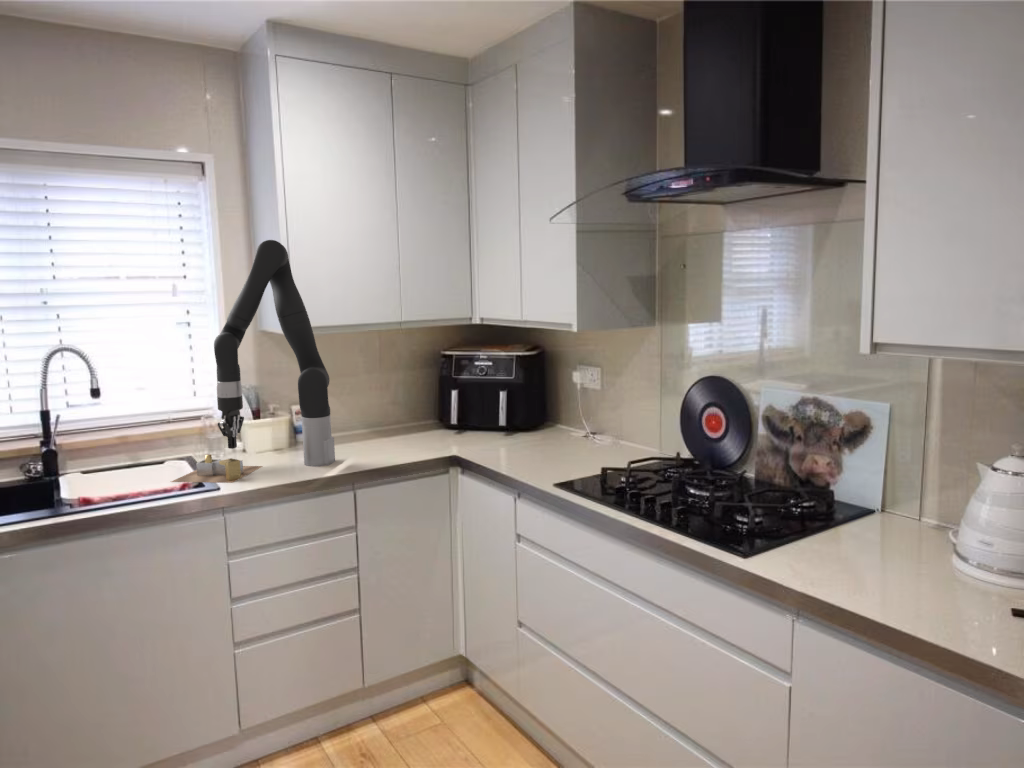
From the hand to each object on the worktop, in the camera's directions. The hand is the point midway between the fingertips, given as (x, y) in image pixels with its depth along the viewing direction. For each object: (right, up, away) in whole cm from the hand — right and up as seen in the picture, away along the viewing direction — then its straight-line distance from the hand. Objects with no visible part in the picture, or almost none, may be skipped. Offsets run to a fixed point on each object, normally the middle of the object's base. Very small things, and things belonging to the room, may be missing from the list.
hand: (232, 447), depth 233 cm
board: (-2, -9, -5) cm, 11 cm away
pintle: (-5, -8, -5) cm, 11 cm away
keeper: (+4, -8, -11) cm, 15 cm away
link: (-1, -8, -5) cm, 9 cm away
